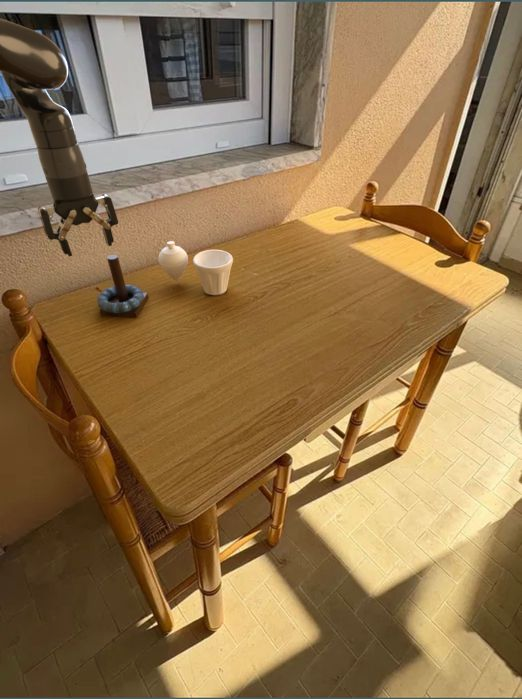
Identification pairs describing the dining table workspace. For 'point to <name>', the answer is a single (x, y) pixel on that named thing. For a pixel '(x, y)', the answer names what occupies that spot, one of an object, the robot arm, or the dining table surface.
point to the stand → (121, 290)
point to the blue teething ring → (122, 306)
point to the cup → (213, 270)
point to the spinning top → (173, 260)
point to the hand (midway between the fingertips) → (89, 249)
